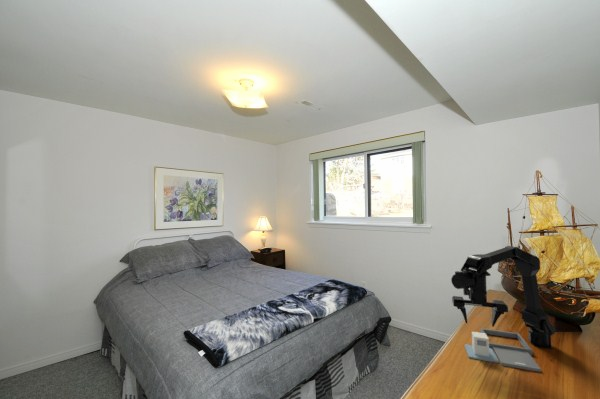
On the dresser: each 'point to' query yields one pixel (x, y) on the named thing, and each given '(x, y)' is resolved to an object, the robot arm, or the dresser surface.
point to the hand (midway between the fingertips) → (479, 324)
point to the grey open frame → (512, 351)
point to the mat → (471, 354)
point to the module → (480, 343)
